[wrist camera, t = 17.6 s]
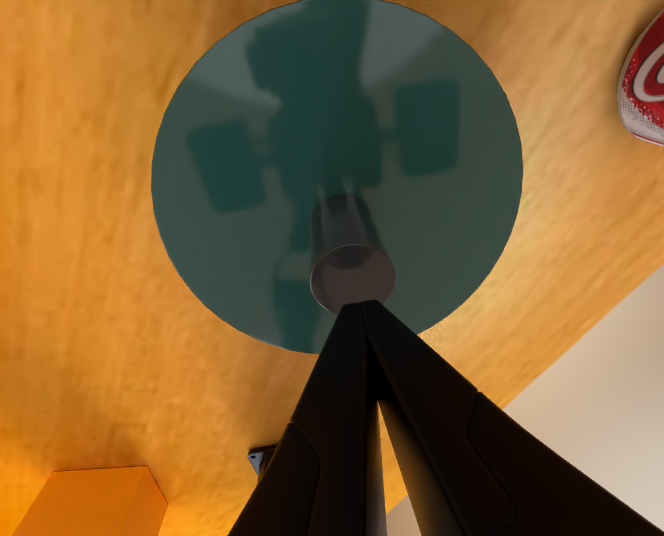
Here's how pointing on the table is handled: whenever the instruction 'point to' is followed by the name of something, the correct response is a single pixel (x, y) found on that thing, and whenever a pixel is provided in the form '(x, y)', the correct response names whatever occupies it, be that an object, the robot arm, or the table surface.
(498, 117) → the lid
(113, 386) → the table surface
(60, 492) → the orange juice
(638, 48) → the soda can
